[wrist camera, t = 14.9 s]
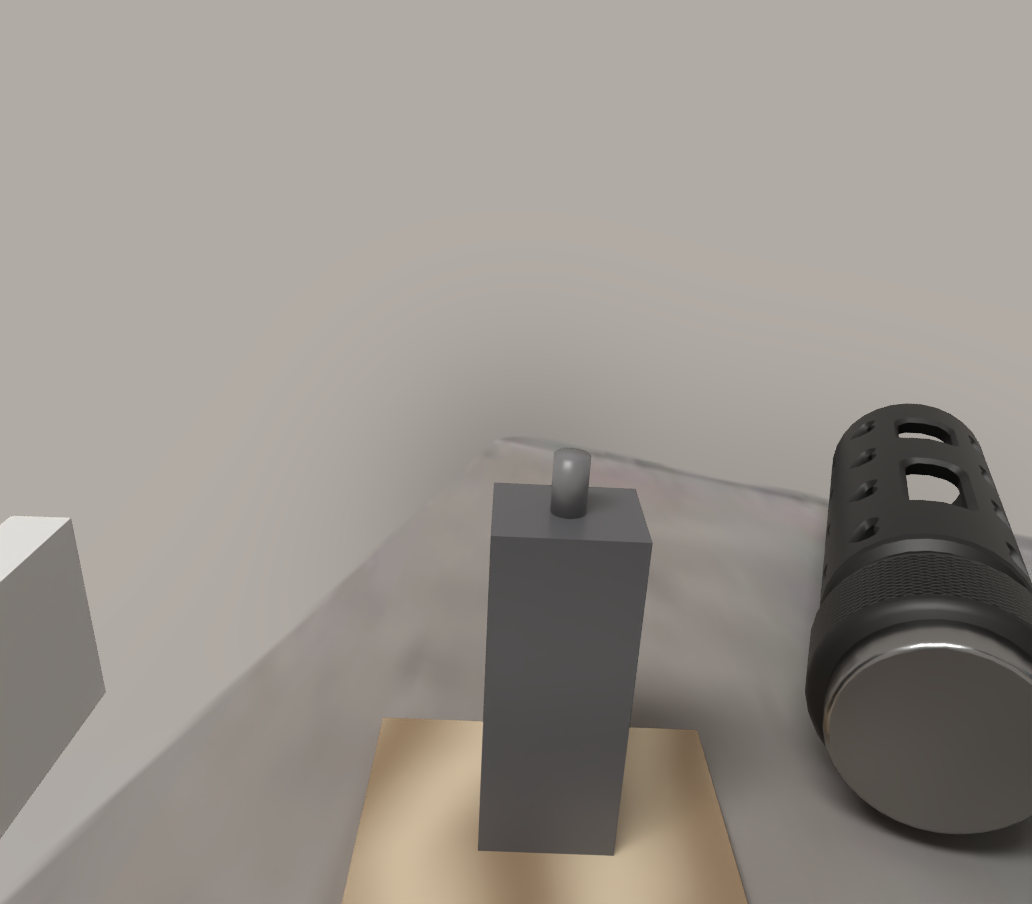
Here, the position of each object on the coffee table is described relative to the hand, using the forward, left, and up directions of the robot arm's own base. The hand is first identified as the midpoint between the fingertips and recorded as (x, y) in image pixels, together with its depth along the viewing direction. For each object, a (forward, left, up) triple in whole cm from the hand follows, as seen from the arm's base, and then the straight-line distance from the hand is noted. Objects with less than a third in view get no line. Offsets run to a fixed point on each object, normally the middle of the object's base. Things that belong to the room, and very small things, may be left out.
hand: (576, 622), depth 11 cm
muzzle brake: (-20, -28, -20) cm, 39 cm away
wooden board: (-1, -16, -19) cm, 25 cm away
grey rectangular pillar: (-1, -16, -19) cm, 24 cm away
